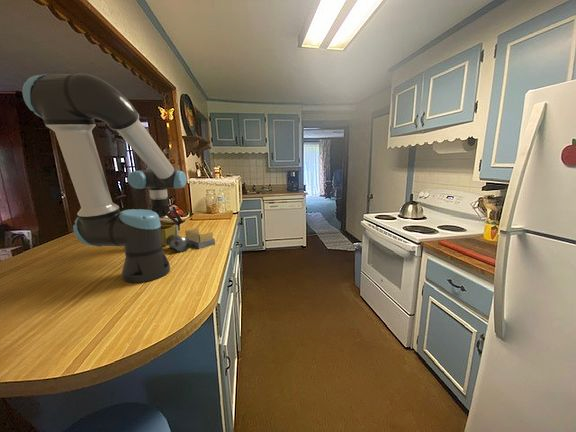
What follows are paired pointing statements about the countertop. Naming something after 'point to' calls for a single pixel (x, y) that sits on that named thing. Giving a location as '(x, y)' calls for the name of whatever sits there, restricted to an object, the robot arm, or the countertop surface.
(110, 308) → the countertop surface
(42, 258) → the countertop surface
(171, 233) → the flower pot
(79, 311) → the countertop surface
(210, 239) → the motor block
